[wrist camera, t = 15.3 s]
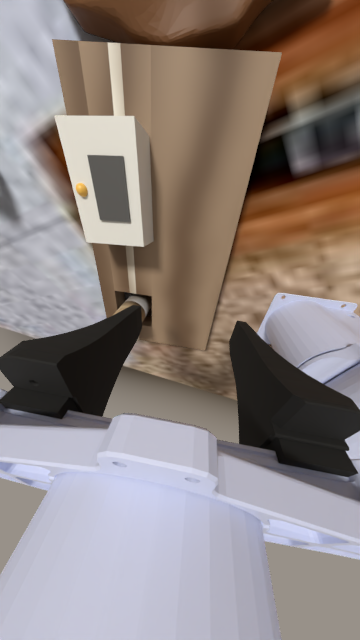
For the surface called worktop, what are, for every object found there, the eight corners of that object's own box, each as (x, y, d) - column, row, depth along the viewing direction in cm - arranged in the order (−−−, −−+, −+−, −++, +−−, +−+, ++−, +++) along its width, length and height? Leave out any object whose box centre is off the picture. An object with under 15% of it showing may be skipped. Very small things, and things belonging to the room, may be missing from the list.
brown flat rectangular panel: (268, 81, 11) (281, 52, 9) (205, 339, 25) (204, 350, 23) (78, 68, 12) (51, 39, 10) (117, 324, 26) (110, 334, 24)
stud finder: (149, 136, 12) (131, 112, 9) (153, 241, 16) (142, 247, 13) (85, 134, 12) (49, 112, 9) (105, 237, 16) (83, 243, 13)
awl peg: (151, 292, 22) (135, 316, 17) (152, 312, 23) (138, 339, 19) (128, 289, 22) (106, 312, 17) (131, 309, 24) (111, 335, 19)
